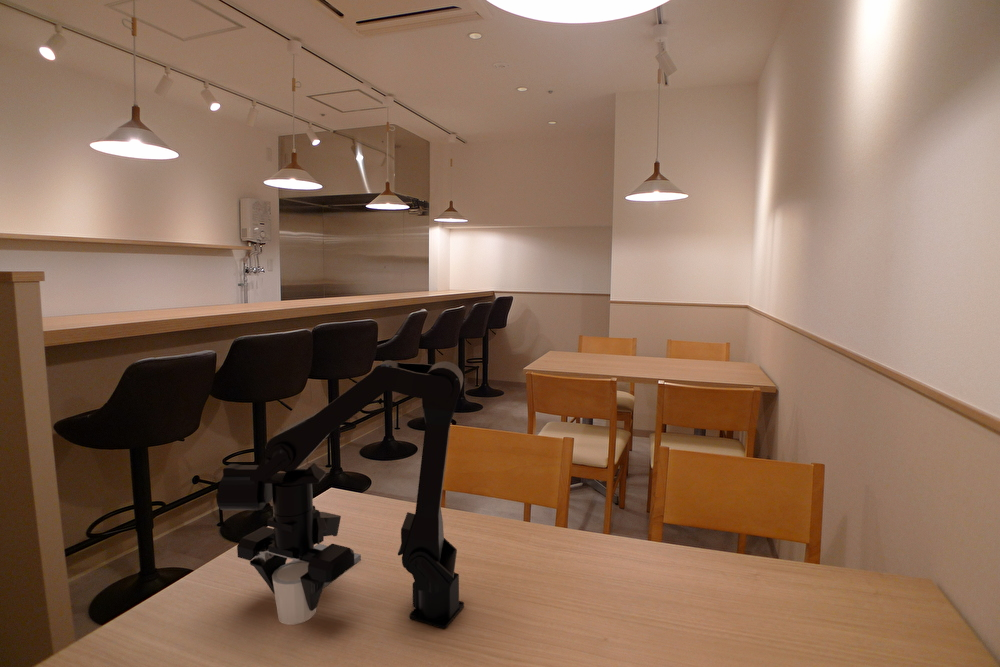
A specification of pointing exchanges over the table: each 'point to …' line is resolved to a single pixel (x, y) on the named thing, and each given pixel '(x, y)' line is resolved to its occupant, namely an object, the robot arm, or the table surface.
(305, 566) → the white cup
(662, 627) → the table surface
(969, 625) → the table surface
